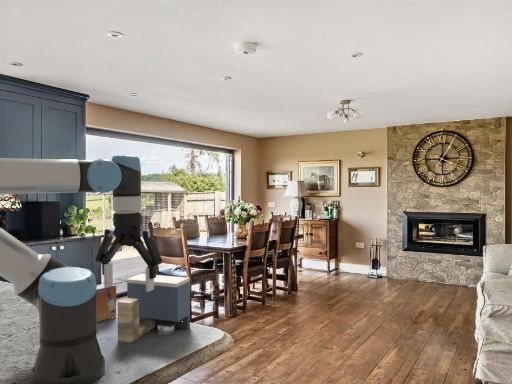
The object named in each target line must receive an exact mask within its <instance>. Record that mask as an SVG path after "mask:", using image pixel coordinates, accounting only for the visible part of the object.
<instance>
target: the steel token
mask: <svg viewBox="0 0 512 384" xmlns="http://www.w3.org/2000/svg"><path fill="white" fill-rule="evenodd" d="M156 326H157V327H156V328H157V329H156V330H157V332H158V333H159V334H158V333H157V334H158V335H160V334H163V335H162V336H168V334H169V335H172V334H174V333H175V332H176V328H175V323H174V322H171V321H165V322H160V323H158V324H157V325H156Z"/></svg>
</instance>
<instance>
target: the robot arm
mask: <svg viewBox="0 0 512 384" xmlns="http://www.w3.org/2000/svg"><path fill="white" fill-rule="evenodd" d="M141 166H142V165H141V159H140V157H138V156H137V155H130V154H129V155H127V154H126V155H123V154H121V155H113V156H112V157H111V160H110V159H107V158H106V159H105V158H99V159H66V158H65V159H60V158H58V159H55V158H20V157H19V158H18V157H17V158H13V157H12V158H7V157H6V158H5V157H0V195H26V194H27V195H28V194H64V193H67V194H68V193H69V194H71V193H100V194H101V193H103V194H104V193H105V194H106V193H109V192H112V211H113V212H114V213H113V214H112V226H113V227H114V228H112V227H111V228H106V229H104V234H103V235H104V236H103V239H102V241H101V243H100V246H99V249H98V251H97V254H96V256H95V261H96V262H99V263H100V264H101V272H102V273H101V274H102V275H103V284H104V288H108V287H111V286H113V285H114V279H113V278H114V276H113V275H114V274H113V272H114V271H113V265H114V264H113V262H112V260H113V258H114V256H115V255H116V253H118V251H119V249H120V248H121V247H124V246H126V247H133V249H136V251H137V253H138V254H139V255H140V257H141V258H142V260H143V261H144V263H145V264H146V265H147V266H146V267H145V268H144V269H145V274H146V292H149V291H152V290H154V278H156V275H157V266H159V265H161V264H163V263H164V262H163V259H162V257H161V255H160V252H159V249H158V247H157V245H156V243H155V241H154V239H153V233H152V230H151V229H146V230H142V228H141V227H142V225H143V224H142V223H143V221H142V219H143V217H142V213H141V212H140V211H141V210H142V189H141V188H142V169H141V168H142V167H141ZM114 238H115V239H114ZM113 239H114V241H113ZM142 239H143V240H142ZM111 244H112V245H111ZM0 277H2V278H3V279H4V280H6V281H8V282H9V283H11V284H12V286H13V291H14V292H13V293H14V294H15V295H17V297H20V298H21V299H22V300H24V301H26V302H28V303H29V304H31V305H32V306H34V307H35V308H36V309H37V310H38V317H39V348H38V351H37V353H36V357H35V362H34V365H33V367H32V369H31V374H30V376H31V377H30V378H31V380H30V381H31V384H92V383H94V382H95V381H96V380H99V379H100V378H102V377H103V374H105V371H106V360H105V357H104V355H103V353H102V351H101V346H100V343H99V340H98V337H97V323H96V290H97V285H98V284H97V282H96V281H97V280H96V276H95V273H93V271H92V270H90V269H88V268H84V267H83V268H81V267H79V266H70V265H68V264H67V265H66V264H65V263H64V262H63V261H60V260H59V259H57V258H56V257H55V256H53V255H52V254H50V253H42V254H40V253H38V252H36V251H35V250H33V249H31V247H29V246H28V245H26V244H25V243H23V242H22V241H20V240H18V239H17V238H16V237H15V236H13V235H12V234H10V233H9V232H7V231H6V230H5V229H3V228H2V227H0Z"/></svg>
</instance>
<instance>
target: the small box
mask: <svg viewBox="0 0 512 384" xmlns="http://www.w3.org/2000/svg"><path fill="white" fill-rule="evenodd" d="M96 285H97V290H96V324H97V323H101V322H103V321H102V320H104V321H107V320H106V319H108V320H110V319H109V318H112V317H115V316H116V317H117V285H116V284H113V286H111V287H108V288H104V283H102V284H101V283H100V284H96ZM112 319H113V318H112Z"/></svg>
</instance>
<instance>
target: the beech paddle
mask: <svg viewBox="0 0 512 384" xmlns="http://www.w3.org/2000/svg"><path fill="white" fill-rule="evenodd" d="M116 311H117V342H119V343H124V342H126V343H125V344H131V342H132V343H133V342H136V341H137V340H139V339H140V337H142V336H143V335H145V334H146V332H147V333H148V332H150V331H152V330H154V329H155V328H157V327H156V326H157V325H156V321H155V320H145V321H144V322H142V323H139V299H133V298H127V297H126V298H123V299H120V300H118V301H116ZM154 327H155V328H154ZM153 328H154V329H153ZM151 329H152V330H151ZM149 330H150V331H149ZM144 333H145V334H144ZM141 335H142V336H141ZM139 336H140V337H139ZM138 338H139V339H138ZM136 339H137V340H136Z"/></svg>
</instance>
